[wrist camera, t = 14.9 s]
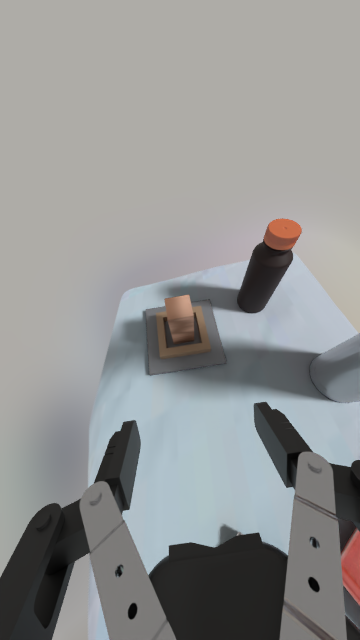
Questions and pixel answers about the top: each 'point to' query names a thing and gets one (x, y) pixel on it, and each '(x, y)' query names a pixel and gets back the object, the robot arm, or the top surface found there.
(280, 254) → the bottle
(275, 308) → the top surface
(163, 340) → the socket dock
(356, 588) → the plant saucer
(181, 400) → the top surface
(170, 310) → the terracotta post
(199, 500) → the top surface
